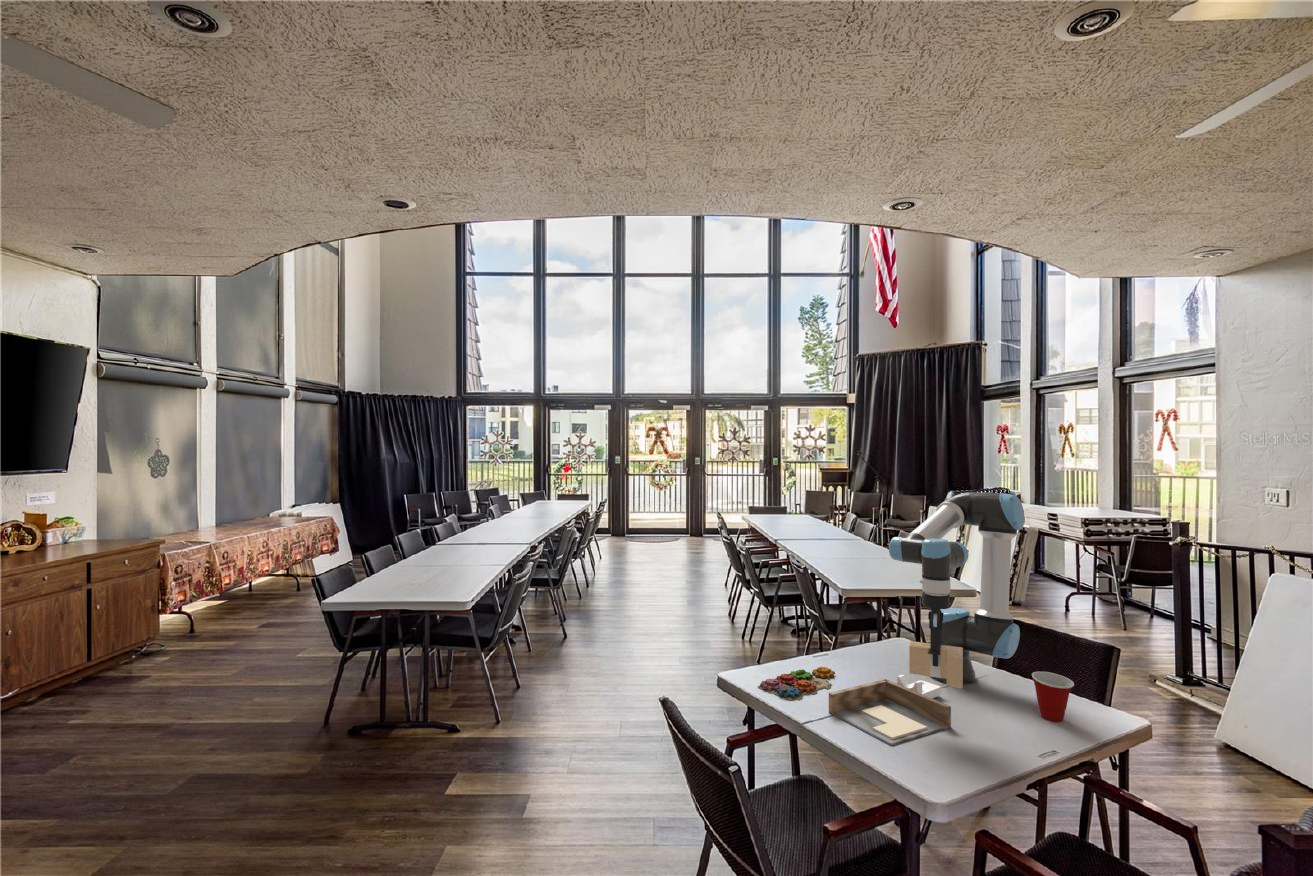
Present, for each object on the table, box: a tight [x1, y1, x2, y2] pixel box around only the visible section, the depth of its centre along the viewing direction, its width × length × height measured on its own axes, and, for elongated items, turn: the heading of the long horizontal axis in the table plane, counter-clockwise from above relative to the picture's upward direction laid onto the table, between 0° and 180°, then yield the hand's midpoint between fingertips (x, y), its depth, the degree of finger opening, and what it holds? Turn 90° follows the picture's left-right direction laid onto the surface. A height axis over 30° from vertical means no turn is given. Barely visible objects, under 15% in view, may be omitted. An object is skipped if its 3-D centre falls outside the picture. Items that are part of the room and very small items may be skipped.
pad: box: [862, 705, 927, 740], centre depth 187 cm, size 14×17×1 cm
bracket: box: [896, 674, 942, 699], centre depth 207 cm, size 13×7×8 cm, turn 125°
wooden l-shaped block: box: [908, 640, 964, 689], centre depth 184 cm, size 14×11×8 cm
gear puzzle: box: [757, 666, 836, 701], centre depth 219 cm, size 31×16×4 cm, turn 128°
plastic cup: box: [1031, 670, 1075, 723], centre depth 192 cm, size 11×11×12 cm
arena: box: [828, 678, 952, 747], centre depth 191 cm, size 24×24×6 cm
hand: (935, 673), depth 187 cm, fingers closed on wooden l-shaped block, 5 cm apart
